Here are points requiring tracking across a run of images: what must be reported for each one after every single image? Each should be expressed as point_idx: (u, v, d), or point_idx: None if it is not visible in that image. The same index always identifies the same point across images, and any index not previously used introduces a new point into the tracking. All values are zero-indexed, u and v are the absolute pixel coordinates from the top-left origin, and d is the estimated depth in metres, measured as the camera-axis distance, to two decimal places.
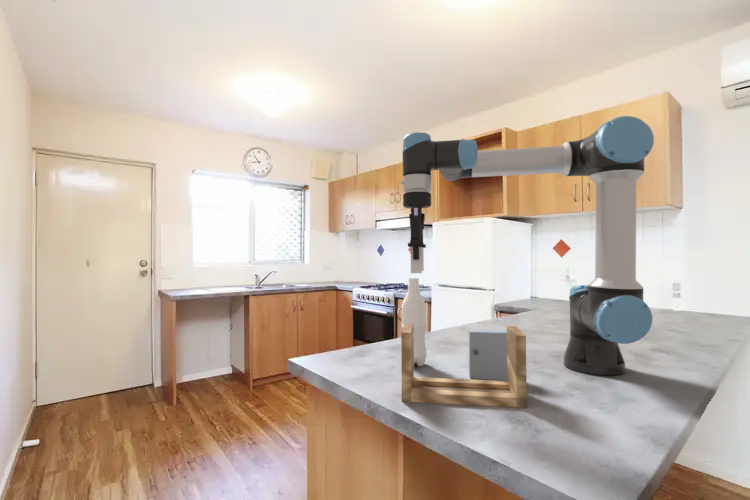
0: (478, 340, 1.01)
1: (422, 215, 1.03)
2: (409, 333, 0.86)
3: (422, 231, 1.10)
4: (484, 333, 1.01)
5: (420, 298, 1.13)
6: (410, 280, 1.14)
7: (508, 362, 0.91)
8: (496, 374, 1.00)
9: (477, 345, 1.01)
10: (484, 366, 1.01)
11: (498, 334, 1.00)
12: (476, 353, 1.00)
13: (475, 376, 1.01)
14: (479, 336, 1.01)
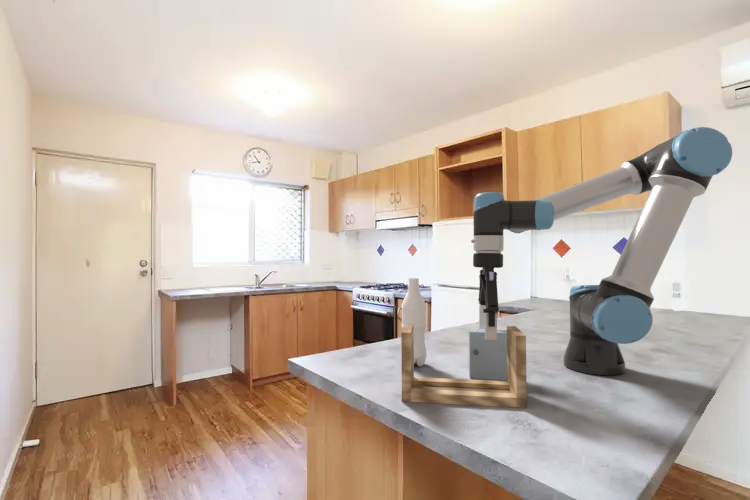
0: (478, 340, 1.01)
1: None
2: (409, 333, 0.86)
3: None
4: (484, 333, 1.01)
5: (420, 298, 1.13)
6: (410, 280, 1.14)
7: (508, 362, 0.91)
8: (496, 374, 1.00)
9: (477, 345, 1.01)
10: (484, 366, 1.01)
11: (498, 334, 1.00)
12: (476, 353, 1.00)
13: (475, 376, 1.01)
14: (479, 336, 1.01)
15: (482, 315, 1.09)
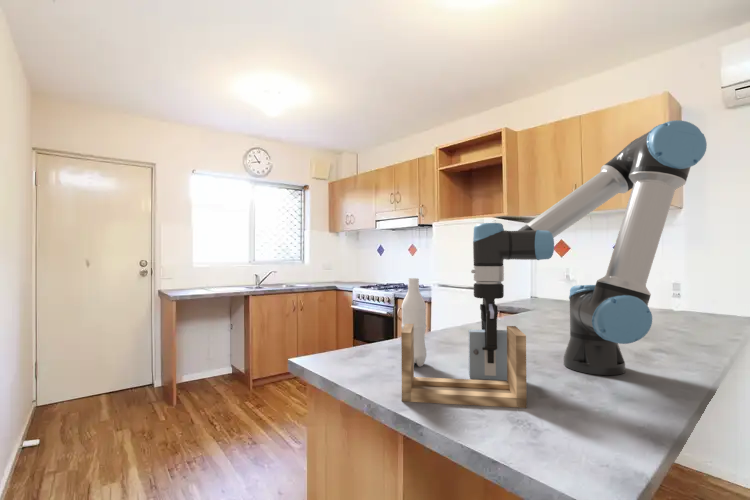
0: (478, 339, 1.01)
1: (495, 309, 1.00)
2: (409, 333, 0.86)
3: None
4: (484, 333, 1.01)
5: (420, 298, 1.13)
6: (410, 280, 1.14)
7: (508, 362, 0.91)
8: (496, 374, 1.00)
9: (476, 345, 1.01)
10: (484, 366, 1.01)
11: (498, 334, 1.00)
12: (476, 353, 1.00)
13: (475, 376, 1.01)
14: (479, 336, 1.01)
15: None
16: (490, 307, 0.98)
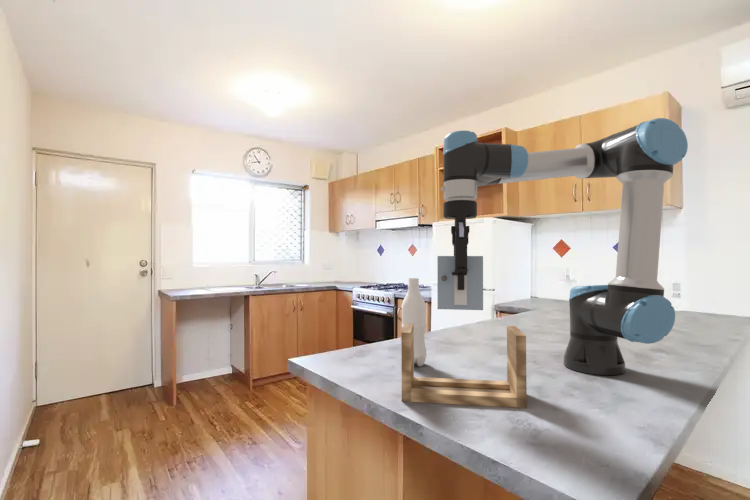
0: (447, 264, 0.89)
1: None
2: (409, 333, 0.86)
3: None
4: (454, 257, 0.88)
5: (420, 298, 1.13)
6: (410, 280, 1.14)
7: (508, 362, 0.91)
8: (467, 304, 0.88)
9: (445, 270, 0.89)
10: (453, 294, 0.88)
11: (470, 258, 0.88)
12: (444, 279, 0.88)
13: (443, 306, 0.89)
14: (448, 260, 0.89)
15: None
16: (460, 225, 0.86)
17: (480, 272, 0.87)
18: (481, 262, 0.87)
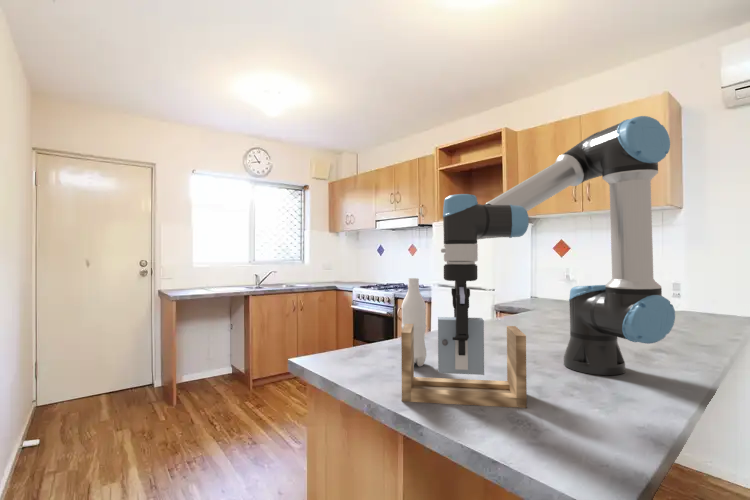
0: (447, 328, 0.88)
1: (467, 293, 0.87)
2: (409, 333, 0.86)
3: None
4: (454, 321, 0.88)
5: (420, 298, 1.13)
6: (410, 280, 1.14)
7: (508, 362, 0.91)
8: (468, 368, 0.87)
9: (446, 334, 0.88)
10: (454, 358, 0.88)
11: (470, 322, 0.87)
12: (445, 343, 0.87)
13: (444, 370, 0.88)
14: (449, 324, 0.88)
15: None
16: (461, 290, 0.85)
17: (481, 337, 0.87)
18: (482, 326, 0.87)
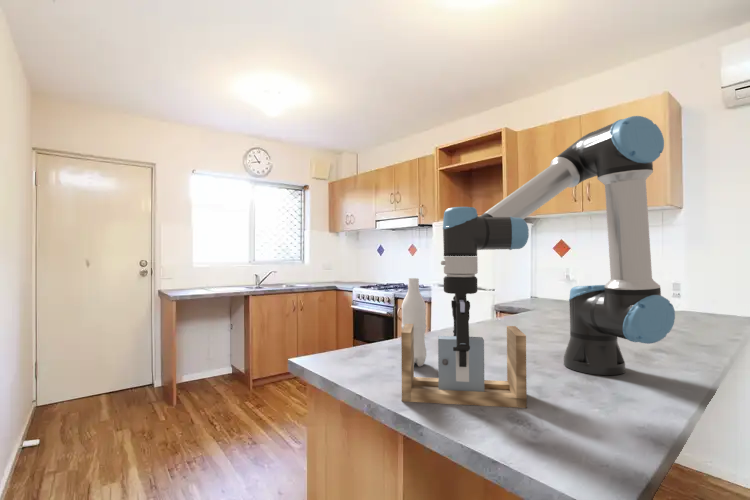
0: (448, 348, 0.88)
1: None
2: (409, 333, 0.86)
3: None
4: (454, 340, 0.88)
5: (420, 298, 1.13)
6: (410, 280, 1.14)
7: (508, 362, 0.91)
8: (469, 388, 0.87)
9: (446, 354, 0.88)
10: (454, 378, 0.88)
11: (470, 341, 0.87)
12: (445, 363, 0.87)
13: None
14: (449, 343, 0.88)
15: None
16: (461, 301, 0.85)
17: (481, 357, 0.87)
18: (482, 346, 0.87)
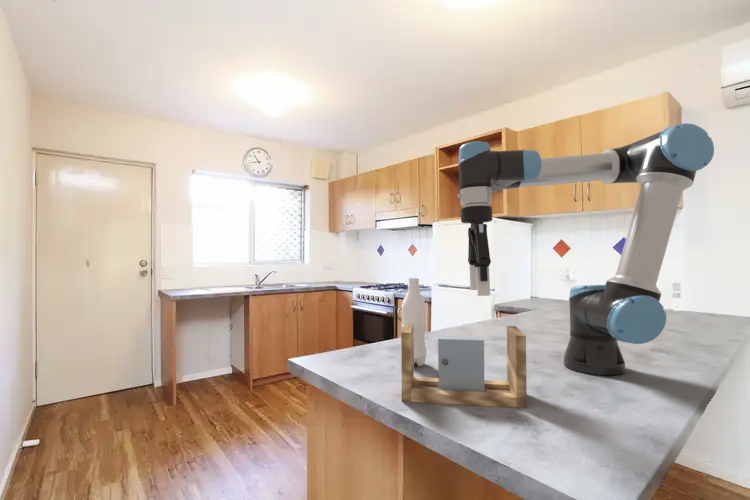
0: (448, 348, 0.88)
1: None
2: (409, 333, 0.86)
3: None
4: (454, 340, 0.88)
5: (420, 298, 1.13)
6: (410, 280, 1.14)
7: (508, 362, 0.91)
8: (469, 388, 0.87)
9: (446, 354, 0.88)
10: (454, 378, 0.88)
11: (470, 341, 0.87)
12: (445, 363, 0.87)
13: None
14: (449, 343, 0.88)
15: (472, 275, 1.03)
16: None
17: (481, 357, 0.87)
18: (482, 346, 0.87)
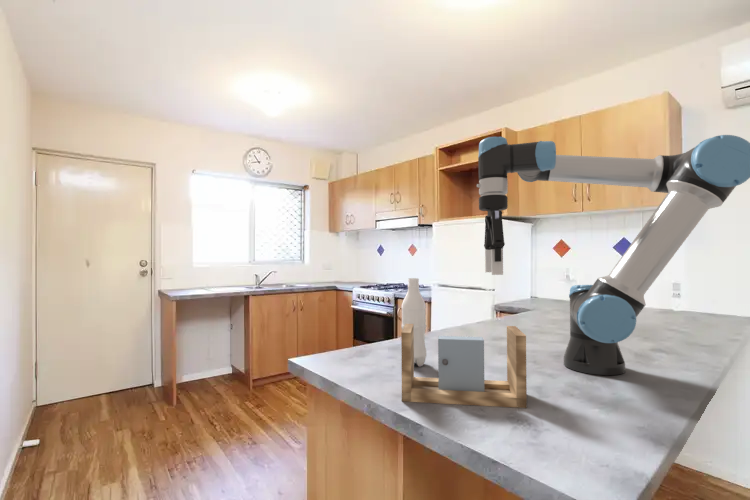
0: (448, 348, 0.88)
1: None
2: (409, 333, 0.86)
3: None
4: (454, 340, 0.88)
5: (420, 298, 1.13)
6: (410, 280, 1.14)
7: (508, 362, 0.91)
8: (469, 388, 0.87)
9: (446, 354, 0.88)
10: (454, 378, 0.88)
11: (470, 341, 0.87)
12: (445, 363, 0.87)
13: None
14: (449, 343, 0.88)
15: (488, 259, 1.14)
16: None
17: (481, 357, 0.87)
18: (482, 346, 0.87)
